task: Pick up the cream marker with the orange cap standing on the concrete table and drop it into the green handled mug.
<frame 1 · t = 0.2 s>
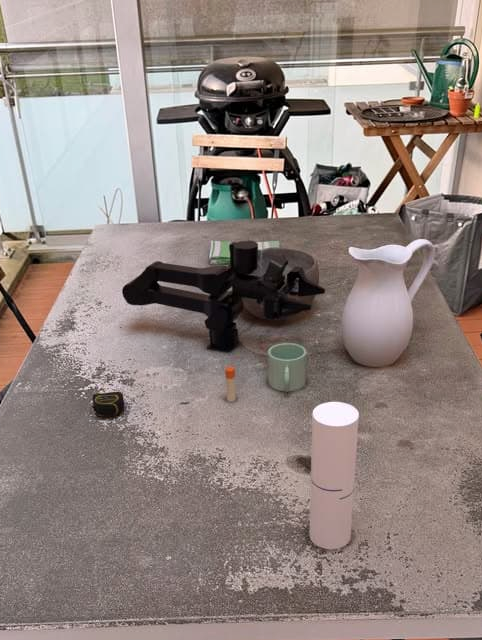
hand: (318, 299, 170), 17 cm above the table, tool horizontal, fingers open, 9 cm apart
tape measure: (108, 411, 164), on the table
pitcher: (385, 354, 183), on the table
cylindrical container: (329, 536, 128), on the table
marker: (231, 399, 167), on the table
bowl: (275, 312, 205), on the table
dish towel: (245, 255, 243), on the table
green handled mug: (287, 382, 173), on the table
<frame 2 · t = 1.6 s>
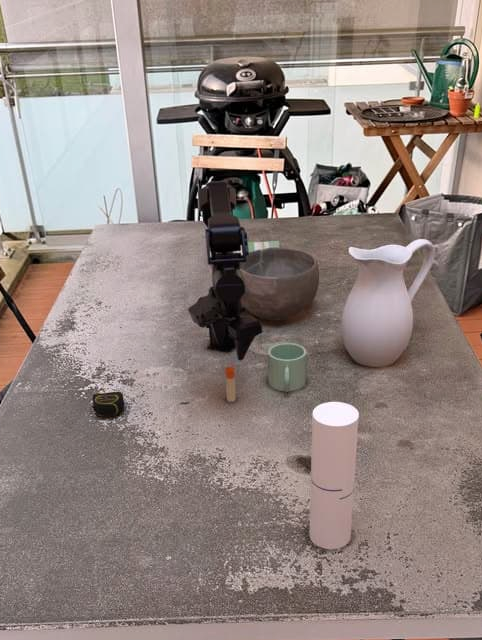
hand: (230, 351, 160), 12 cm above the table, tool pointing down, fingers open, 9 cm apart
nothing on the table moved.
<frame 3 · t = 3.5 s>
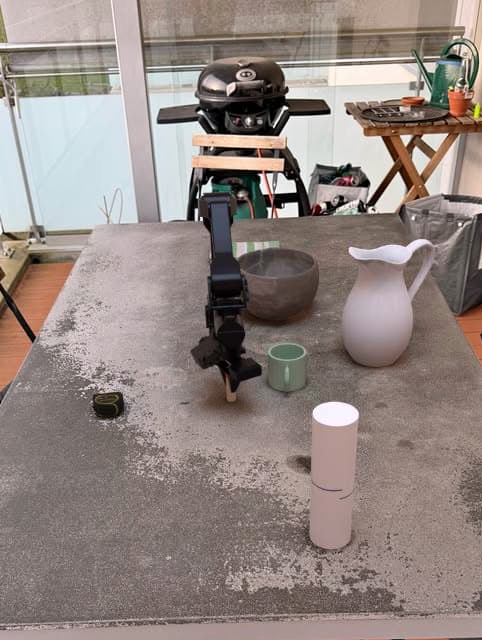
hand: (231, 390, 165), 3 cm above the table, tool pointing down, fingers closed on marker, 2 cm apart
marker: (231, 399, 167), on the table, touching gripper
everything else where it was.
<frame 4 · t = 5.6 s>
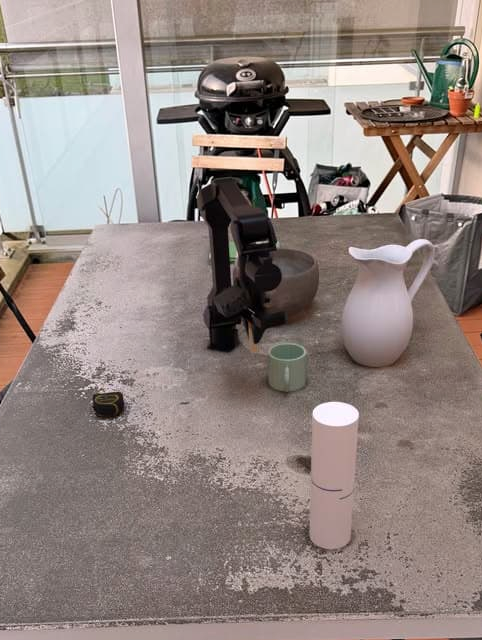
hand: (253, 341, 162), 13 cm above the table, tool pointing down, fingers closed on marker
marker: (253, 351, 163), point 10 cm above the table, touching gripper
everything else where it was.
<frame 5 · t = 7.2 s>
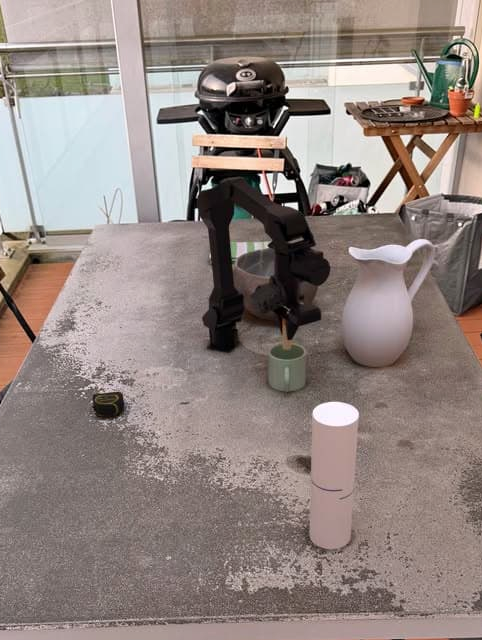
hand: (287, 337, 166), 11 cm above the table, tool pointing down, fingers closed on marker
marker: (286, 347, 168), point 9 cm above the table, touching gripper
everything else where it was.
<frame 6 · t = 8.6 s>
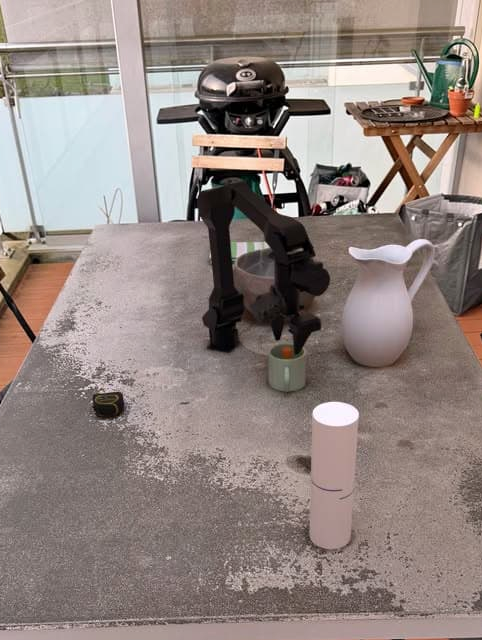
hand: (287, 347, 167), 9 cm above the table, tool pointing down, fingers open, 8 cm apart
marker: (286, 379, 172), point 1 cm above the table, touching green handled mug
everything else where it was.
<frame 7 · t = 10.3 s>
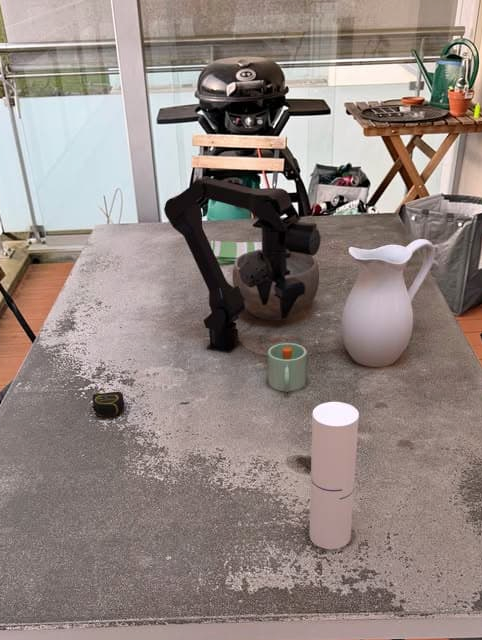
hand: (274, 311, 176), 13 cm above the table, tool pointing down, fingers open, 9 cm apart
nothing on the table moved.
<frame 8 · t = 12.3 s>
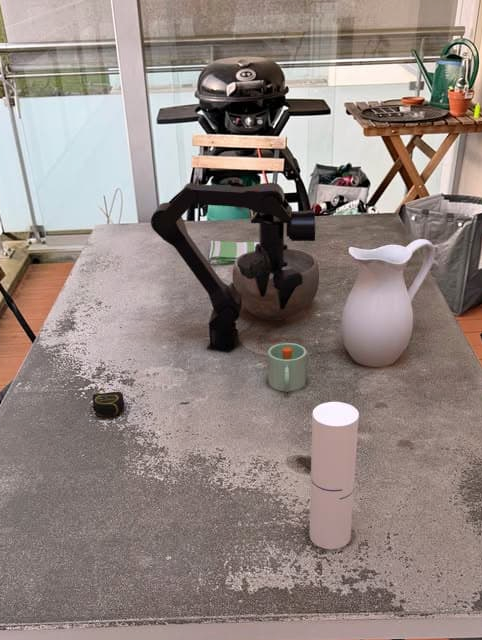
hand: (272, 302, 181), 12 cm above the table, tool pointing down, fingers open, 9 cm apart
nothing on the table moved.
at the end: marker inside the target area in the green handled mug (0.0 cm from its centre), point 0.6 cm above the green handled mug's base; the gripper is holding nothing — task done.
